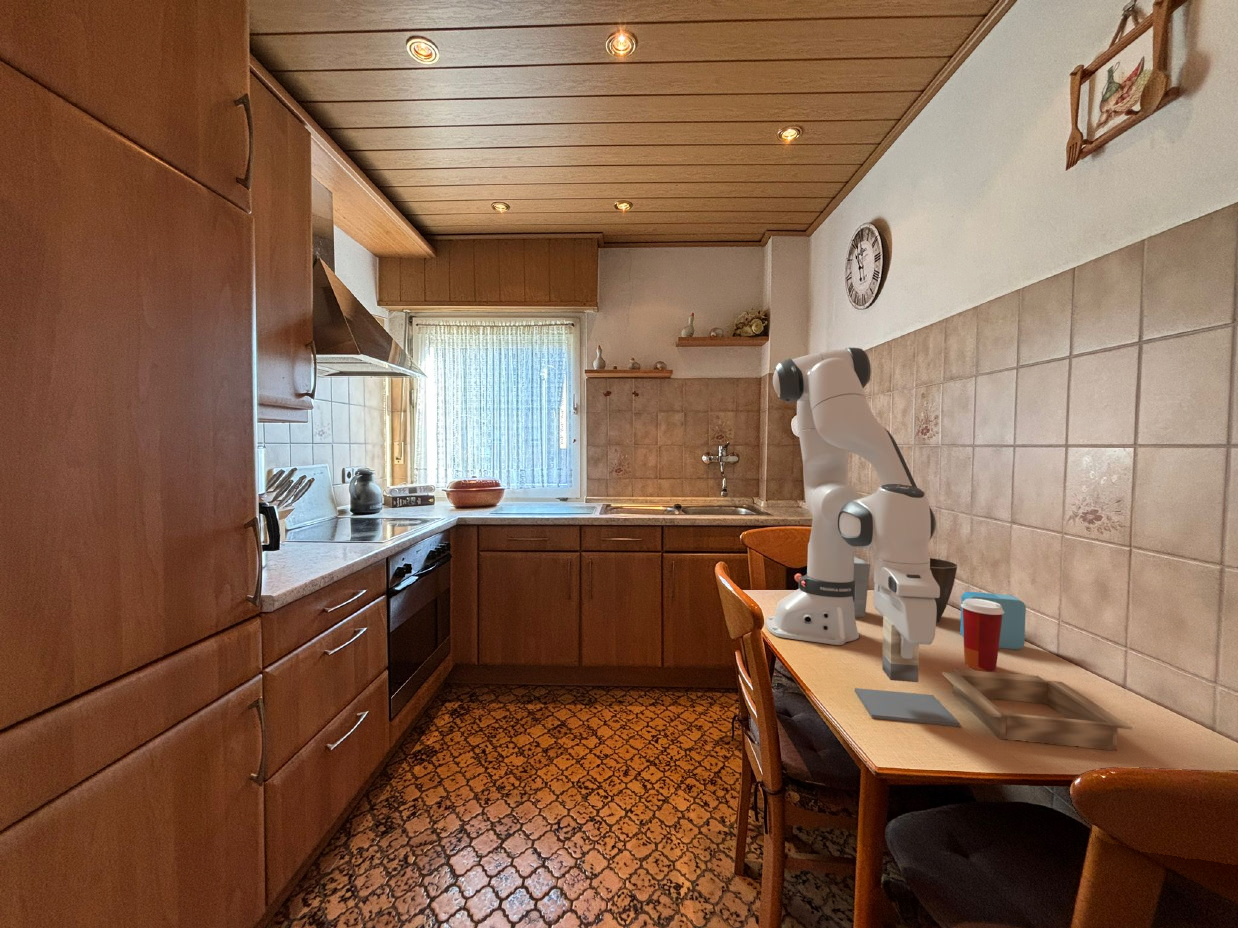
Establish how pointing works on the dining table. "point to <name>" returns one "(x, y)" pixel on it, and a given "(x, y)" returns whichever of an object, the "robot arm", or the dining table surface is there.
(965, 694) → the wooden frame
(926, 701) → the rubber mat
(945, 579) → the plant pot
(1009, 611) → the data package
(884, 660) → the box
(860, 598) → the skincare box
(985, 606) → the paper cup
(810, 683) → the dining table surface
